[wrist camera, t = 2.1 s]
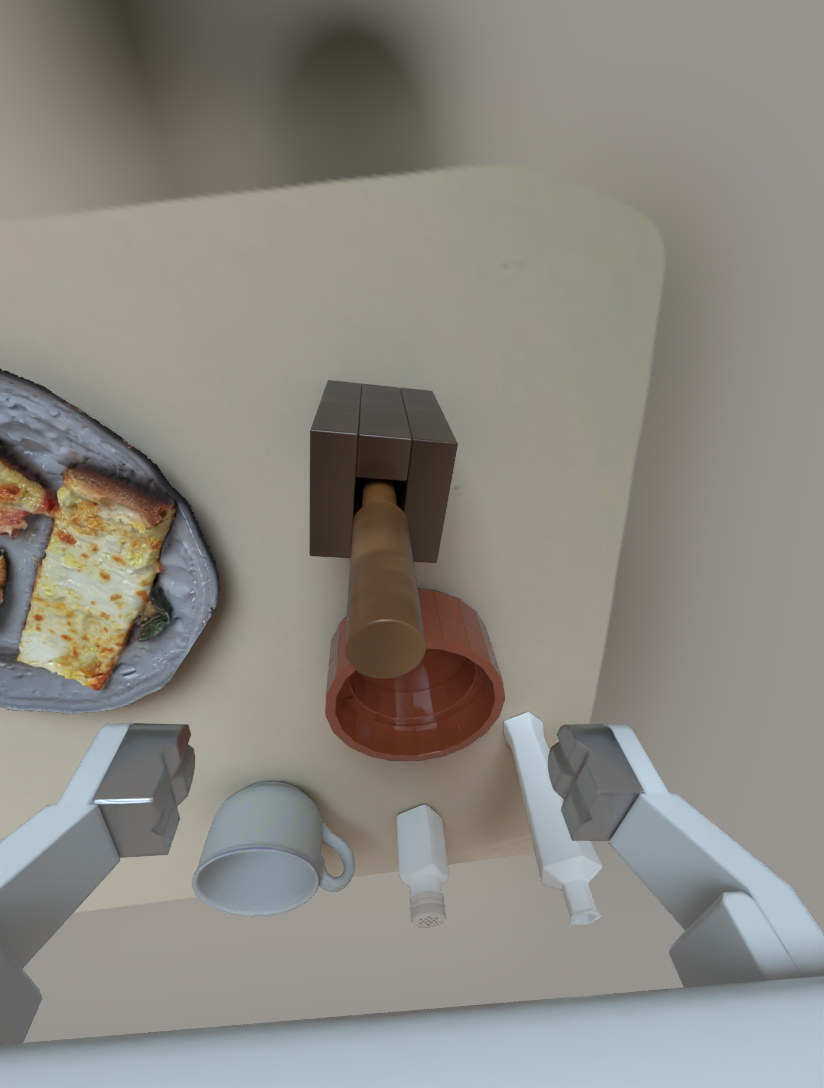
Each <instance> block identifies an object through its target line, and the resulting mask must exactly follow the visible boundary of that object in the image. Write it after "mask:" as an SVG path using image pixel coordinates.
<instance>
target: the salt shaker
mask: <svg viewBox="0 0 824 1088" xmlns="http://www.w3.org/2000/svg"><path fill="white" fill-rule="evenodd" d="M397 835H398V855H399V874H400V878H401V880H402V881H403V882H404V883H405V884H406V885H407V886H409V887H410V894H411V897H410V906H411V907H410V909H411V922H412V923H413V925H414V926H417V927H420V928H429V927H434V926H437V925H439V924H442V923H443V922H444V921H445V919H446V915H445V909H444V908H445V907H444V897H443V893H442V889H441V884H442V883H444V882H445V881H446V880H447V879H448V877H449V870H448V863H447V855H446V847H445V839H444V832H443V824H442V819H441V817H440V816H439V815H438V814H437V813H436V812H435V811H434V810H432V809H431V808H430V807H429V806H428V805H421V806H418V807H416V808H413V809H411V810H408V811H406V812H403V813H401V814H399V815H398V816H397Z"/></svg>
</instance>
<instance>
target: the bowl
mask: <svg viewBox="0 0 824 1088" xmlns="http://www.w3.org/2000/svg"><path fill="white" fill-rule="evenodd" d="M418 595H419V601H420V608H421V615H422V622H423V629H424V635H425V642H426V651H425V654H424V657H423V659H422V660H421V662H420V663H419V665H418V666H417V667H415V668H414V669H413V670H412V671H410V672H408V673H406V674H404V675H402V676H399V677H396V678H388V679H380V678H372V677H369V676H366V675H363V674H361V673H359V672H358V671H356V670H355V669H354V668H353V667H352V666H351V665H350V663H349V662H348V660H347V658H346V655H345V637H346V622H347V616H346V617H345V618H344V619H343V620H342V621H341V622H340V624H339V626H338V628H337V630H336V632H335V634H334V636H333V638H332V641H331V650H330V660H329V670H328V680H327V690H326V709H325V714H326V718H327V720H328V722H329V724H330V726H331V728H332V730H333V732H334V733H335V734H336V735H337V736H338V737H339V738H340V739H341V740H342V741H343V742H344V743H346V744H347V745H348V746H349V747H351V748H353V749H355V750H357V751H359V752H361V753H364V754H366V755H368V756H370V757H375V758H380V759H385V760H390V761H422V760H427V759H432V758H437V757H442V756H446V755H448V754H450V753H453V752H455V751H458V750H460V749H463V748H465V747H466V746H469V745H470V744H471V743H473V742H474V741H476V740H477V739H479V738H480V737H481V736H483V735H484V734H485V733H487V731H488V730H489V729H490V728H491V726H492V725H493V724H494V723H495V721H496V720H497V719H498V717H499V716H500V713H501V710H502V706H503V703H504V700H505V695H504V687H503V680H502V677H501V674H500V671H499V668H498V664H497V661H496V658H495V655H494V652H493V649H492V645H491V642H490V639H489V636H488V633H487V630H486V627H485V625H484V624H483V622H482V621H481V619H480V617H479V616H478V614H477V613H476V611H475V610H473V609H472V608H471V607H469V606H468V605H466V604H465V603H464V602H462V601H461V600H460V599H458V598H456V597H454V596H450V595H447V594H444V593H441V592H438V591H435V590H425V589H418Z"/></svg>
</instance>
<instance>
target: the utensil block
mask: <svg viewBox="0 0 824 1088" xmlns="http://www.w3.org/2000/svg"><path fill="white" fill-rule="evenodd" d="M457 445H458V443H457V441H456V439H455V437H454V435H453V433H452V431H451V429H450V427H449V425H448V422H447V420H446V418H445V416H444V414H443V412H442V410H441V408H440V406H439V404H438V402H437V400H436V398H435V396H434V394H433V392H432V391H426V390H416V389H407V388H397V387H387V386H378V385H369V384H362V385H361V384H360V383H350V382H341V381H331V380H328V382H327V385H326V387H325V390H324V393H323V396H322V399H321V402H320V404H319V407H318V410H317V413H316V416H315V419H314V421H313V424H312V427H311V430H310V556H321V557H339V558H350V557H351V544H352V529H353V520H354V517H355V515H356V514H357V512H358V511H359V510H360V509H361V508H362V498H363V478H375V479H388V480H394V482H395V491H396V500H397V506H398V507H399V508H400V509H401V510H402V511H403V512H404V514H405V515H406V517H407V521H408V527H409V533H410V540H411V547H412V554H413V561H414V562H428V563H436V562H437V558H438V553H439V547H440V541H441V536H442V530H443V525H444V519H445V513H446V508H447V502H448V496H449V491H450V485H451V479H452V474H453V468H454V462H455V457H456V451H457Z"/></svg>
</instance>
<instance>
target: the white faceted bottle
mask: <svg viewBox="0 0 824 1088" xmlns="http://www.w3.org/2000/svg"><path fill="white" fill-rule="evenodd" d="M504 736H505V738H506V740H507V741H508V743H509V745H510V746H511V748H512V751H513V756H514V760H515V765H516V769H517V774H518V778H519V783H520V787H521V792H522V796H523V801H524V805H525V810H526V814H527V819H528V823H529V828H530V832H531V837H532V841H533V846H534V850H535V855H536V859H537V863H538V868H539V873H540V877H541V882H542V885H545V886H548V887H552V888H555V889H559V890H562V891H563V895H564V898H565V901H566V904H567V908H568V911H569V914H570V917H571V919H570V924H572V925H583V924H584V925H585V924H590V923H592V922H594V921H595V920H597V919H598V918H600V917H601V914H599V912H598V911H597V908H596V906H595V903H594V900H593V897H592V894H591V891H590V889H589V886H588V883H589V881H590V880H591V879H592V878H593V877H594V876H595V875H596V874H597V873H598V872H599V871H600V870H601V868H602V865H601V862H600V860H599V858H598V856H597V854H596V851H595V849H594V847H593V845H592V843H591V841H572V839H571V836H570V834H569V831H568V828H567V826H566V823H565V820H564V817H563V815H562V812H561V807H562V804H563V800H564V799H562V798H561V797H560V796H559V795H558V794H557V793H556V792H555V791H554V790H553V787H552V784H551V781H550V778H549V772H548V755H549V752H550V750H549V748H548V746H547V743H546V741H545V739H544V732H543V722H542V721H540V720H539V719H538V718H536V717H535V716H534V715H532V714H531V713H529V712H527V713H524V714H521V715H518V716H516V717H513V718H510V719H508V720H505V721H504Z"/></svg>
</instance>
